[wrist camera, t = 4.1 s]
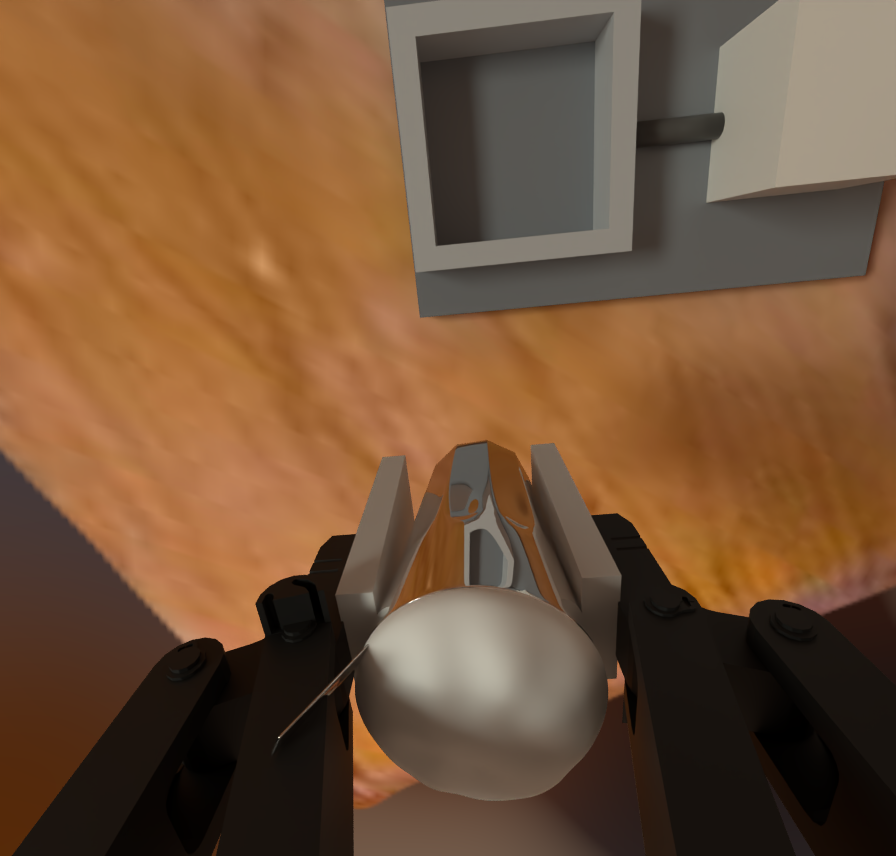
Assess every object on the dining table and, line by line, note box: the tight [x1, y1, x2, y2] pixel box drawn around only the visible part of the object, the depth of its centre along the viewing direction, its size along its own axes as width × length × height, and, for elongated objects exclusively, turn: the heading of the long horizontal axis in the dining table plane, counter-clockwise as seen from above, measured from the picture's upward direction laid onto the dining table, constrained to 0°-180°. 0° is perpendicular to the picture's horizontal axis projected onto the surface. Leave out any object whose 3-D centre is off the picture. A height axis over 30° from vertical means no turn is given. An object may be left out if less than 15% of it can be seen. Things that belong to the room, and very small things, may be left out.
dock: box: [384, 0, 896, 318], centre depth 19 cm, size 14×22×6 cm, turn 95°
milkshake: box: [271, 440, 608, 801], centre depth 11 cm, size 4×5×10 cm
